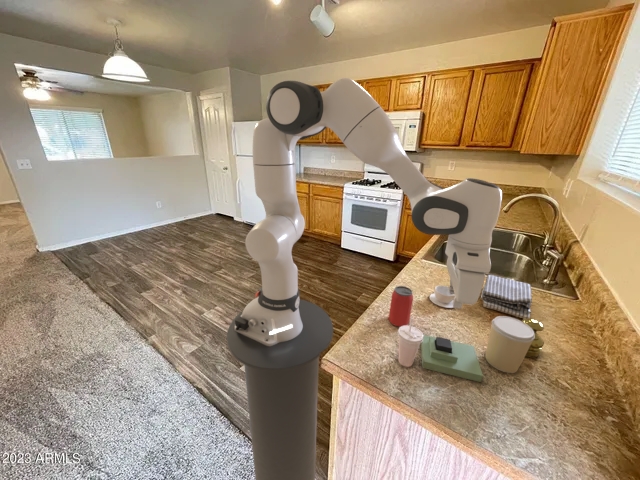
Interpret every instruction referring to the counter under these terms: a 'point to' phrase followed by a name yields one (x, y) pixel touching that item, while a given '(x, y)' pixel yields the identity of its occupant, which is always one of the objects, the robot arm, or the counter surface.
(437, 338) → the key
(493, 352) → the coffee cup
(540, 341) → the gold stacked stones ornament
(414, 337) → the smoothie
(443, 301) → the teacup
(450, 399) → the counter surface
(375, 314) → the counter surface
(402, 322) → the beer can
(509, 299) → the towel
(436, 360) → the green flat stepped block
